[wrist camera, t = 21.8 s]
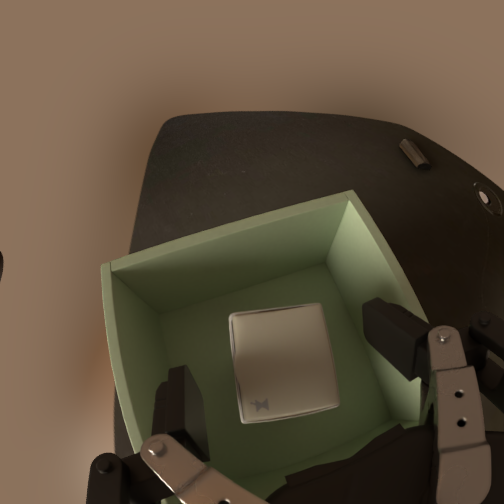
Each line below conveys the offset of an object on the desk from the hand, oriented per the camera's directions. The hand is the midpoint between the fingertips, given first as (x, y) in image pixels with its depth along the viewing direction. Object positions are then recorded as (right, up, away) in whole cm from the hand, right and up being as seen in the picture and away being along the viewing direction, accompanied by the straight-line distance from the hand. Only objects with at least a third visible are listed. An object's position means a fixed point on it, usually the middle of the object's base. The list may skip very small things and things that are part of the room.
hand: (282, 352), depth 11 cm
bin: (0, -6, +10) cm, 12 cm away
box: (0, -6, +9) cm, 11 cm away
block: (+23, +18, +23) cm, 37 cm away
